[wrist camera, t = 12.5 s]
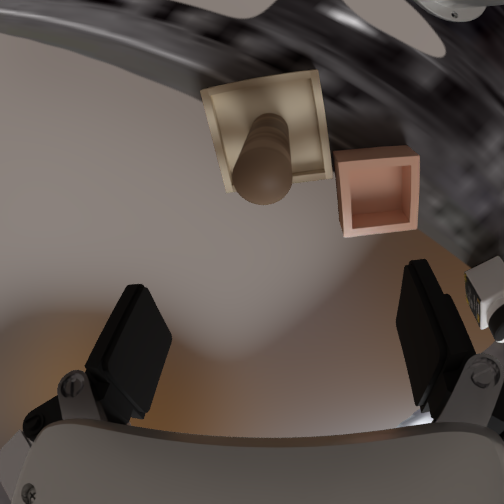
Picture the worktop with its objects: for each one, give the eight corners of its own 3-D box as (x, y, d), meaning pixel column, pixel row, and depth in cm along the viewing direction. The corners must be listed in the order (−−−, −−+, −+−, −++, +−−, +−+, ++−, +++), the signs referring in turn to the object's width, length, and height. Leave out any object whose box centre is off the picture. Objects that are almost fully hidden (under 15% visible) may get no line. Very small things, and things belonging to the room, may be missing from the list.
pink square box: (332, 151, 33) (338, 162, 30) (406, 145, 32) (419, 155, 28) (339, 220, 38) (344, 237, 35) (406, 213, 37) (416, 229, 33)
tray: (204, 88, 31) (200, 90, 29) (315, 69, 28) (317, 69, 27) (229, 186, 37) (226, 193, 36) (330, 172, 35) (333, 178, 33)
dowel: (247, 116, 31) (226, 154, 20) (285, 110, 31) (287, 145, 19) (255, 151, 34) (239, 208, 22) (291, 145, 33) (296, 200, 21)
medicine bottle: (463, 271, 41) (494, 327, 31) (498, 254, 38) (534, 305, 28) (465, 300, 44) (491, 354, 34) (498, 284, 41) (528, 335, 32)
